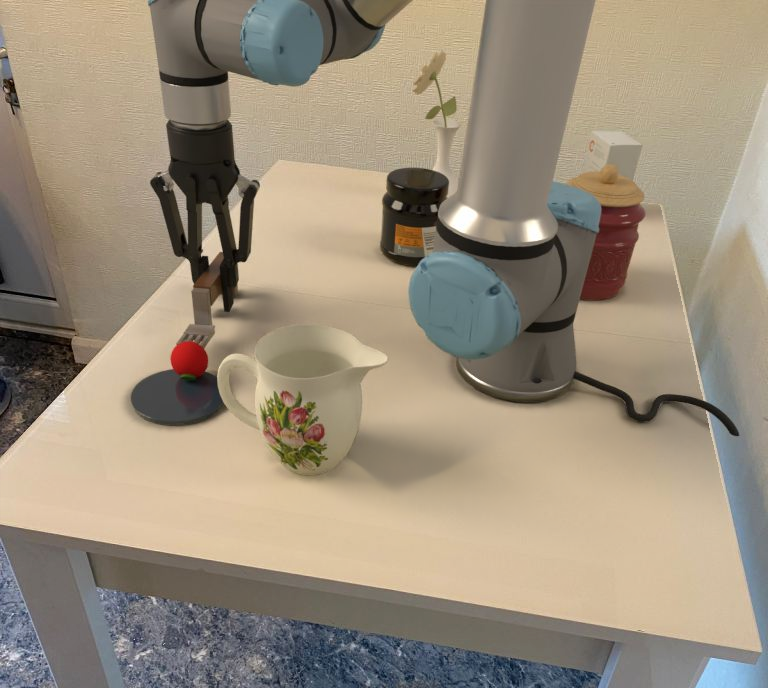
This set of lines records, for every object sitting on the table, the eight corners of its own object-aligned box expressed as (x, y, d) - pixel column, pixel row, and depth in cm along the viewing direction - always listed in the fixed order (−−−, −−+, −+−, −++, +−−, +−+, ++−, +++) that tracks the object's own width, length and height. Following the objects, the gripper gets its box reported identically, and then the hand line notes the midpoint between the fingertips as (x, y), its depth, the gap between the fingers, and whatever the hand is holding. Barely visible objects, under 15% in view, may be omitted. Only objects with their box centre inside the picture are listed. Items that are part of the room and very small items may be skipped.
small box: (622, 220, 136) (643, 144, 127) (591, 221, 135) (610, 145, 126) (603, 203, 142) (622, 130, 133) (573, 204, 140) (590, 130, 131)
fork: (218, 289, 107) (216, 251, 104) (240, 291, 107) (238, 253, 103) (176, 349, 90) (171, 305, 86) (203, 351, 90) (199, 308, 86)
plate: (246, 393, 88) (245, 389, 88) (179, 437, 82) (179, 433, 81) (179, 362, 93) (178, 358, 92) (111, 402, 86) (110, 397, 85)
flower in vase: (439, 188, 142) (455, 37, 125) (481, 208, 136) (504, 52, 119) (388, 201, 136) (397, 44, 119) (429, 223, 130) (445, 60, 113)
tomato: (216, 342, 88) (213, 379, 88) (198, 350, 91) (196, 385, 91) (181, 333, 85) (179, 371, 85) (165, 341, 88) (162, 378, 88)
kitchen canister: (536, 293, 112) (562, 173, 100) (543, 259, 121) (567, 144, 109) (622, 307, 110) (659, 186, 98) (623, 271, 120) (657, 156, 107)
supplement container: (440, 272, 116) (449, 194, 107) (374, 263, 116) (378, 185, 108) (446, 245, 123) (455, 170, 115) (384, 237, 124) (389, 162, 116)
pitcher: (244, 410, 86) (234, 301, 77) (393, 441, 83) (401, 332, 74) (203, 467, 78) (187, 354, 69) (366, 503, 75) (372, 390, 66)
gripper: (270, 115, 88) (278, 298, 104) (143, 105, 88) (171, 289, 104) (257, 135, 82) (268, 324, 98) (122, 124, 82) (155, 315, 99)
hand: (218, 306), depth 101 cm, fingers closed on fork, 2 cm apart
